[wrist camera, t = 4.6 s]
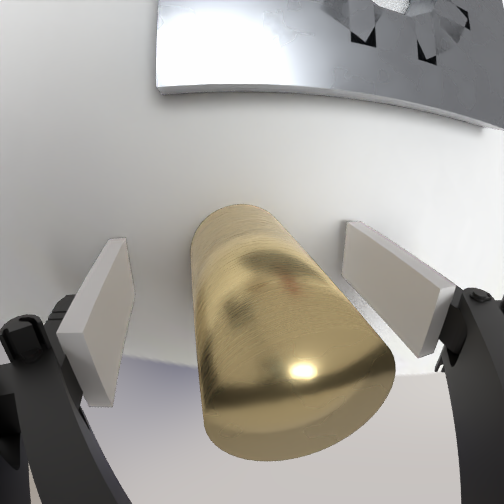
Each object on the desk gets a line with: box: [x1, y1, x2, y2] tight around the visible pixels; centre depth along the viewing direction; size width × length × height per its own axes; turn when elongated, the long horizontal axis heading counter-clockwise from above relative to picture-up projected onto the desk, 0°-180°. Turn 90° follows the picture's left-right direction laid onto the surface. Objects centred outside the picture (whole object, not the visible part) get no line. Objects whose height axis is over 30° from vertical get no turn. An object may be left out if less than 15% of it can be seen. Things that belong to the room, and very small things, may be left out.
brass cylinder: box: [191, 204, 395, 461], centre depth 10 cm, size 4×4×9 cm
